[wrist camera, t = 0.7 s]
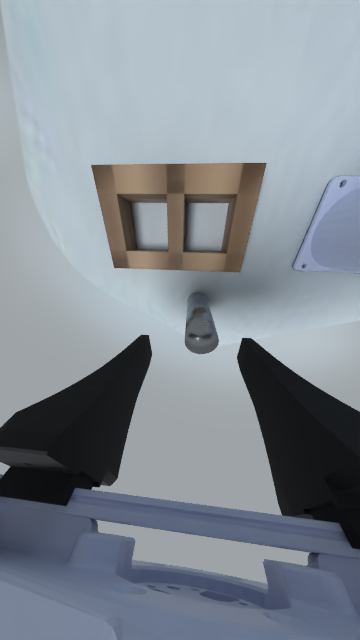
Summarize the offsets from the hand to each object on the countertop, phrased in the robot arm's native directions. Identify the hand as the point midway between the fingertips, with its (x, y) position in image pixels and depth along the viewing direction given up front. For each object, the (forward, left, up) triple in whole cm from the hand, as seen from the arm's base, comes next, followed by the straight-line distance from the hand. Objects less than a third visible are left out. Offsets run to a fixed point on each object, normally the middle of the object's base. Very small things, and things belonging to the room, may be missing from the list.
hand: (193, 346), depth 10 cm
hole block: (+2, -8, -10) cm, 13 cm away
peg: (-1, +1, -10) cm, 10 cm away
